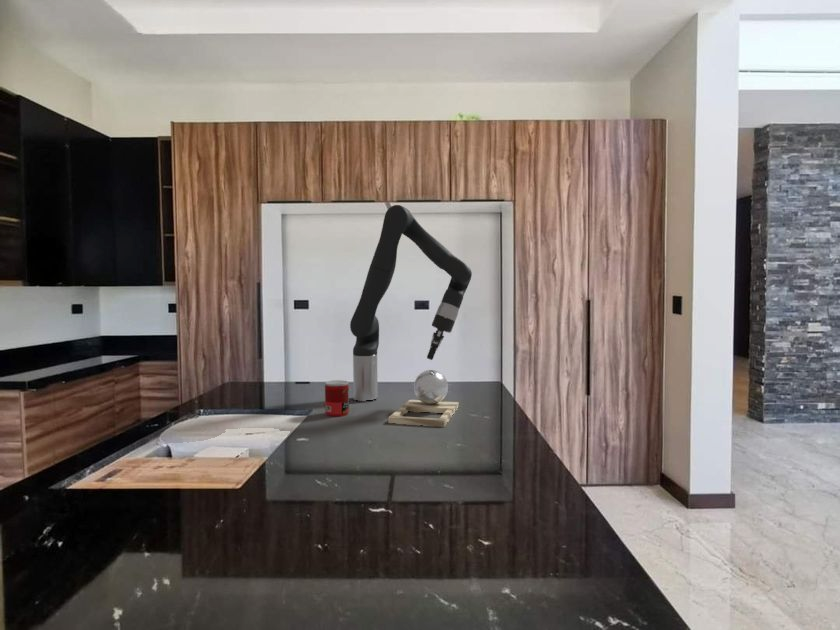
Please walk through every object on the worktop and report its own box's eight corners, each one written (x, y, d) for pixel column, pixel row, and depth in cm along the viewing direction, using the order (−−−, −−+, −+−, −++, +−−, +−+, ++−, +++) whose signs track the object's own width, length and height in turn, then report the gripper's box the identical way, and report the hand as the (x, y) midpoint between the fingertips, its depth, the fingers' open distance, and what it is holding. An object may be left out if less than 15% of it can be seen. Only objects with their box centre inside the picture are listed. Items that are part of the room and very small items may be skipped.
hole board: (410, 404, 189) (410, 399, 189) (458, 407, 185) (458, 402, 185) (388, 423, 164) (388, 417, 164) (444, 427, 160) (444, 420, 159)
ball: (407, 402, 184) (407, 369, 183) (436, 398, 190) (436, 366, 189) (425, 409, 174) (425, 374, 173) (454, 405, 180) (454, 371, 179)
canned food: (347, 417, 172) (346, 384, 172) (323, 417, 172) (322, 384, 172) (350, 411, 180) (350, 380, 179) (327, 411, 180) (327, 380, 179)
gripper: (435, 315, 194) (420, 355, 193) (436, 311, 180) (419, 355, 179) (454, 322, 194) (438, 363, 193) (456, 319, 180) (439, 362, 178)
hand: (429, 359), depth 186 cm, fingers open, 8 cm apart
